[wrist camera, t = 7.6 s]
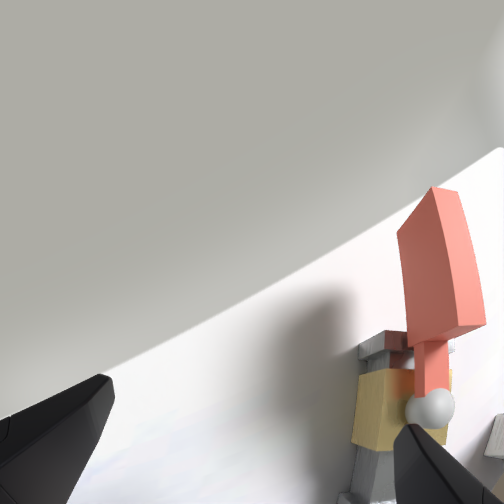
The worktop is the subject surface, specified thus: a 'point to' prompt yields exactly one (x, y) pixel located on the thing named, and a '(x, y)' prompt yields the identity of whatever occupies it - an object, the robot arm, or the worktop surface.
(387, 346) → the valve body
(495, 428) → the skincare box
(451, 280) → the lever
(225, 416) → the worktop surface
